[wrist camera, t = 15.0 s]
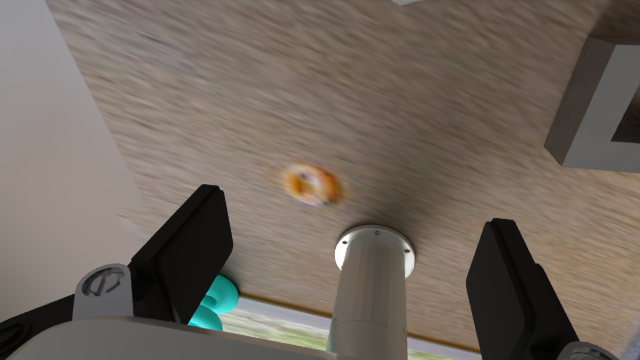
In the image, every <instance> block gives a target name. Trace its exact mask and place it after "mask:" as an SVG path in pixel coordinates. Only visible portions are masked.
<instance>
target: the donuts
mask: <svg viewBox="0 0 640 360" xmlns="http://www.w3.org/2000/svg"><path fill="white" fill-rule="evenodd" d="M237 302H238V292H237V289H236V288H235V286H234V285H233V284H232V282H230V281H229V280H228V279H227V278H225V277H223V276H221V275H217V277H216V279H215V280H214V282H213V284H212V285H211V287H210V289H209V290H208V292H207V294H206V295H205V297H204V299H203V300H202V302H201V303H200V305H199V307H198V308H197V310H196V312H195V313H194V315H193V317H192V318H191V320H190V322H189V323H188V325H191V326H197V327H202V328H207V329H212V330H218V331H223V327H222V323H221V320H220V318H219V317H218V316H217V314H216V313H226V312H229V311H231V310H232V309H233V308H234V307H235V306H236V305H237Z"/></svg>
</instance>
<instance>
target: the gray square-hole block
mask: <svg viewBox="0 0 640 360" xmlns="http://www.w3.org/2000/svg"><path fill="white" fill-rule="evenodd" d="M639 84H640V38H637V37H601V36H588V37H587V39H586V42H585V44H584V47H583V49H582V52H581V54H580V57H579V59H578V62H577V64H576V67H575V69H574V72H573V74H572V77H571V79H570V82H569V84H568V87H567V89H566V92H565V94H564V97H563V99H562V102H561V104H560V107H559V109H558V112H557V114H556V117H555V119H554V122H553V124H552V127H551V129H550V132H549V134H548V137H547V139H546V142H545V144H544V147H545V148H546V149H547V151H548V152H549V153H550V154H551V155H552V156H553V157H554V159H555V160H556V161H557V162H558V163H559V164H560V165H561V167H572V168H584V169H595V170H607V171H618V172H629V173H640V126H629V125H619V123H620V121H621V119H622V117H623V115H624V113H625V112H626V110H627V108H628V106H629V104H630V102H631V100H632V98H633V96H634V94H635V92H636V90H637V88H638V86H639Z"/></svg>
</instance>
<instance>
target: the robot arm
mask: <svg viewBox="0 0 640 360" xmlns="http://www.w3.org/2000/svg"><path fill="white" fill-rule="evenodd" d="M232 249H233V239H232V233H231V228H230V223H229V217H228V212H227V206H226V201H225V196H224V192H223V190H220V188H219V186H216V185H207V184H202V185H201V186H200V187H199V188H198V189H197V190H196V191H195V192H194V193H193V194H192V195H191V196H190V197H189V198H188V199H187V200H186V202H185V203H184V204H183V205H182V206H181V207H180V208H179V209H178V210H177V211H176V212H175V213H174V214H173V215H172V216H171V217H170V218H169V219H168V221H167V222H166V223H165V224H164V225H163V226H162V227H161V228H160V229H159V230H158V231H157V232H156V233H155V234H154V235H153V236H152V237H151V238H150V240H149V241H148V242H147V243H146V244H145V245H144V246H143V247H142V248H141V249H140V250H139V251H138V252H137V253H136V254H135V255H134V256H133V257H132V259H131V260H132V261H131V262H130V263H129V265H128V266H125V265H123V264H108V265H104V266H101V267H99V268H96V269H95V270H93V271H91V272H90V273H88V274H87V275H86V276H85V277H83V278H82V279H81V281H80V282H79V283H78V285H77V288H76V290H75V294H72V295H70V296H67V297H64V298H62V299H59V300H57V301H54V302H51V303H49V304H47V305H44V306H41V307H39V308H36V309H33V310H31V311H28V312H25V313H23V314H20V315H18V316H15V317H12V318H10V319H8V320H5V321H3V322H1V323H0V360H408V353H407V321H406V286H405V279H406V278H407V277H408V276H409V275H410V274H411V272H412V271H413V268H414V266H415V252H414V249H413V247H412V245H411V243H410V242H409V241H408V240H407V239H406V237H405V236H403V235H402V234H400V233H399V232H397V231H395V230H393V229H391V228H388V227H385V226H380V225H362V226H358V227H355V228H352V229H350V230H348V231H347V232H345V233H344V234H343V235H342V236H341V237H340V238H339V240H338V242H337V244H336V248H335V260H336V263H337V265H338V267H339V268H340V270H341V274H340V279H339V285H338V290H337V295H336V300H335V306H334V311H333V316H332V321H331V327H330V332H329V336H328V342H327V349H326V351H321V350H316V349H311V348H306V347H301V346H296V345H291V344H286V343H280V342H275V341H270V340H265V339H260V338H255V337H249V336H244V335H239V334H234V333H228V332H223V331H218V330H212V329H207V328H202V327H197V326H191V325H188V323H189V322H190V320H191V318H192V317H193V315H194V313H195V312H196V310H197V308H198V307H199V305H200V303H201V302H202V300H203V299H204V297H205V295H206V294H207V292H208V290H209V289H210V287H211V285H212V284H213V282H214V280H215V279H216V277H217V275H218V274H219V272H220V270H221V269H222V267H223V265H224V264H225V262H226V260H227V259H228V257H229V255H230V254H231V252H232ZM466 288H467V293H468V297H469V302H470V306H471V311H472V315H473V320H474V324H475V328H476V333H477V337H478V342H479V346H480V351H481V355H482V360H620V359H618V358H617V357H615V356H614V355H613V354H611V353H610V352H609V351H607V350H605V349H603V348H601V347H599V346H597V345H594V344H591V343H588V342H582V341H579V339H578V337H577V335H576V333H575V331H574V329H573V327H572V325H571V323H570V321H569V319H568V317H567V315H566V313H565V311H564V309H563V307H562V305H561V303H560V301H559V299H558V297H557V295H556V293H555V291H554V289H553V287H552V285H551V283H550V281H549V279H548V277H547V275H546V273H545V271H544V269H543V268H542V267H541V265H539V264H537V263H535V262H534V260H533V258H532V256H531V254H530V252H529V250H528V248H527V246H526V243H525V241H524V239H523V237H522V235H521V233H520V231H519V229H518V227H517V225H516V223H515V221H514V220H509V219H500V218H493V219H492V221H491V222H489V221H487V222H486V223H485V226H484V229H483V231H482V234H481V237H480V240H479V243H478V246H477V249H476V252H475V255H474V258H473V260H472V263H471V266H470V269H469V272H468V275H467V278H466Z"/></svg>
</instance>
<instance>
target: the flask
mask: <svg viewBox="0 0 640 360" xmlns="http://www.w3.org/2000/svg"><path fill="white" fill-rule="evenodd" d="M391 1H393V2H394V3H396V4H398V5H400V6H402V5H407V4H412V3H416V2H421V1H426V0H391Z"/></svg>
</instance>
